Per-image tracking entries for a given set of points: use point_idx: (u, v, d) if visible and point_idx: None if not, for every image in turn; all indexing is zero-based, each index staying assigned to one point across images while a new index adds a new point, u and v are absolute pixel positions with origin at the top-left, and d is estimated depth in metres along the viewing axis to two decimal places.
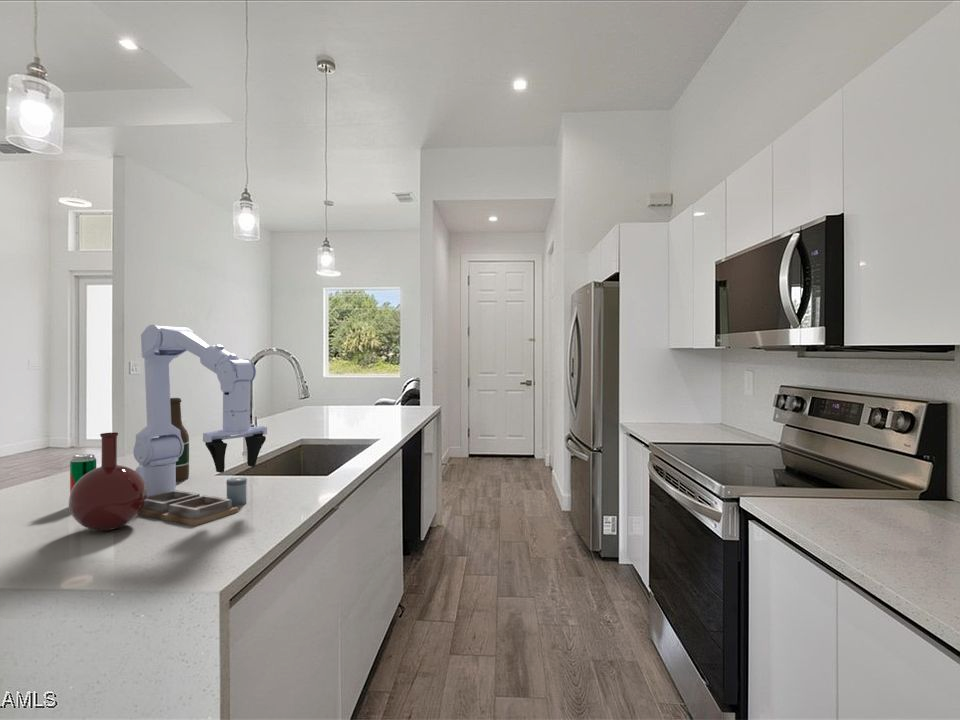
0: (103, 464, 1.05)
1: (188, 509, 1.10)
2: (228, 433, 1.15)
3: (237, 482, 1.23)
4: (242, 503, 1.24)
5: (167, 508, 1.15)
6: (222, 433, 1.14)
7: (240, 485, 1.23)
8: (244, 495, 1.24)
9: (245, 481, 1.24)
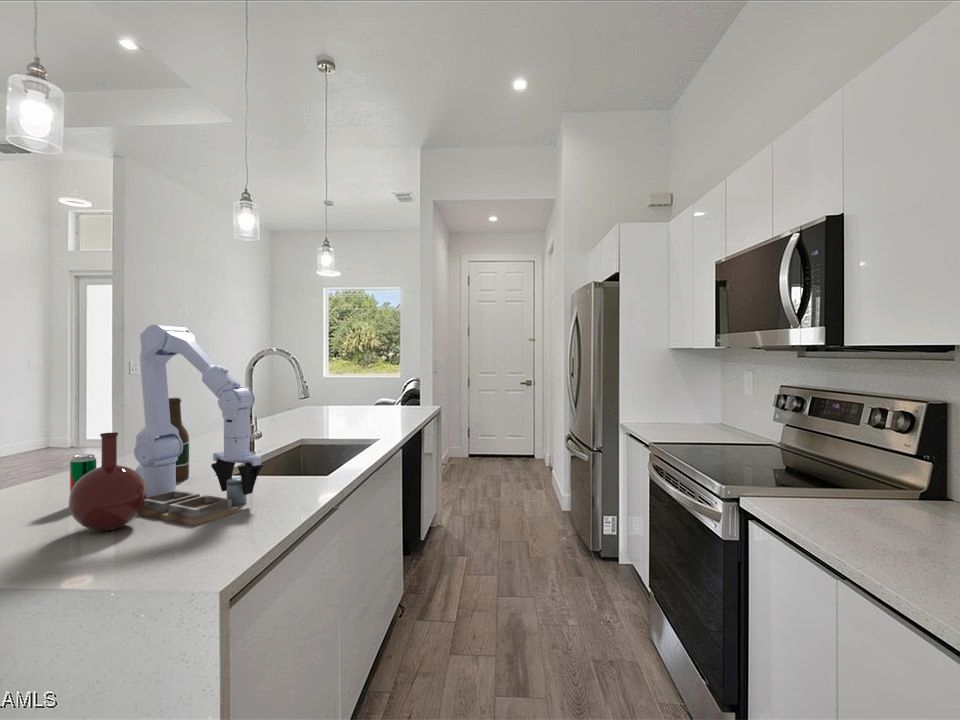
0: (103, 464, 1.05)
1: (188, 509, 1.10)
2: (220, 456, 1.24)
3: (237, 482, 1.23)
4: (242, 503, 1.24)
5: (167, 508, 1.15)
6: (218, 455, 1.25)
7: (240, 485, 1.23)
8: (244, 495, 1.24)
9: None
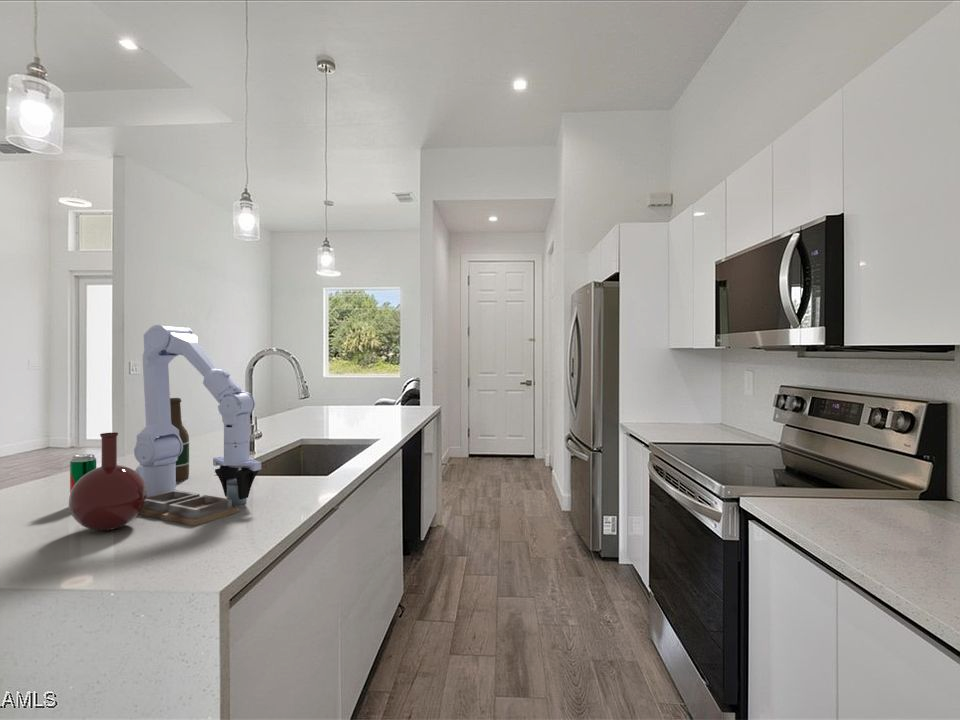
0: (103, 464, 1.05)
1: (188, 509, 1.10)
2: (220, 461, 1.24)
3: None
4: (242, 503, 1.24)
5: (167, 508, 1.15)
6: (218, 460, 1.25)
7: None
8: None
9: None
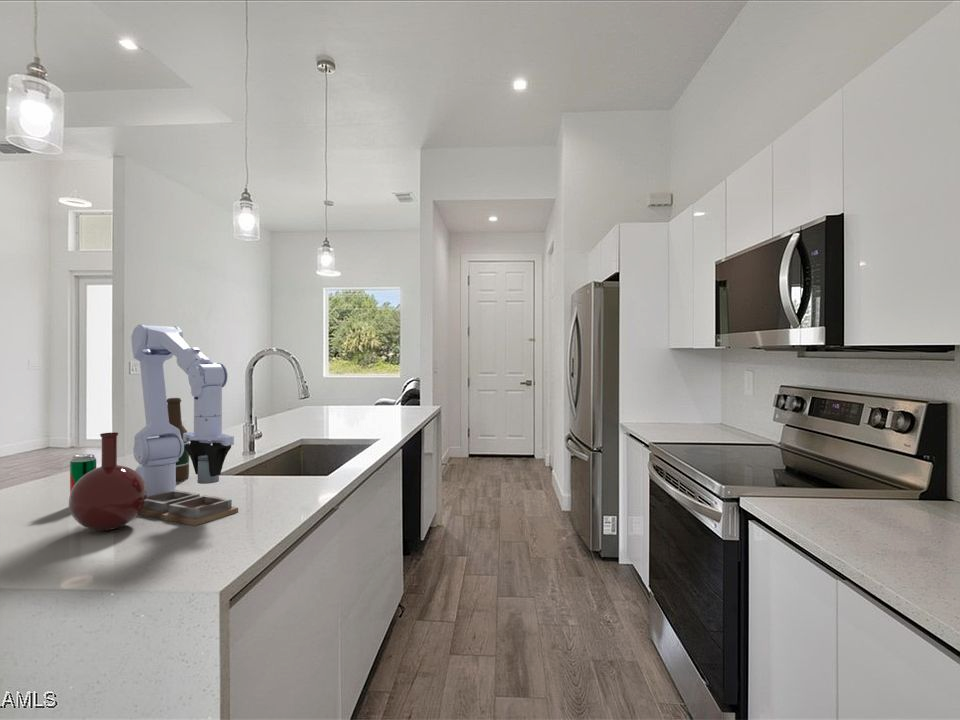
0: (103, 464, 1.05)
1: (188, 509, 1.10)
2: (190, 436, 1.16)
3: None
4: (214, 481, 1.16)
5: (167, 508, 1.15)
6: (188, 435, 1.17)
7: None
8: None
9: None
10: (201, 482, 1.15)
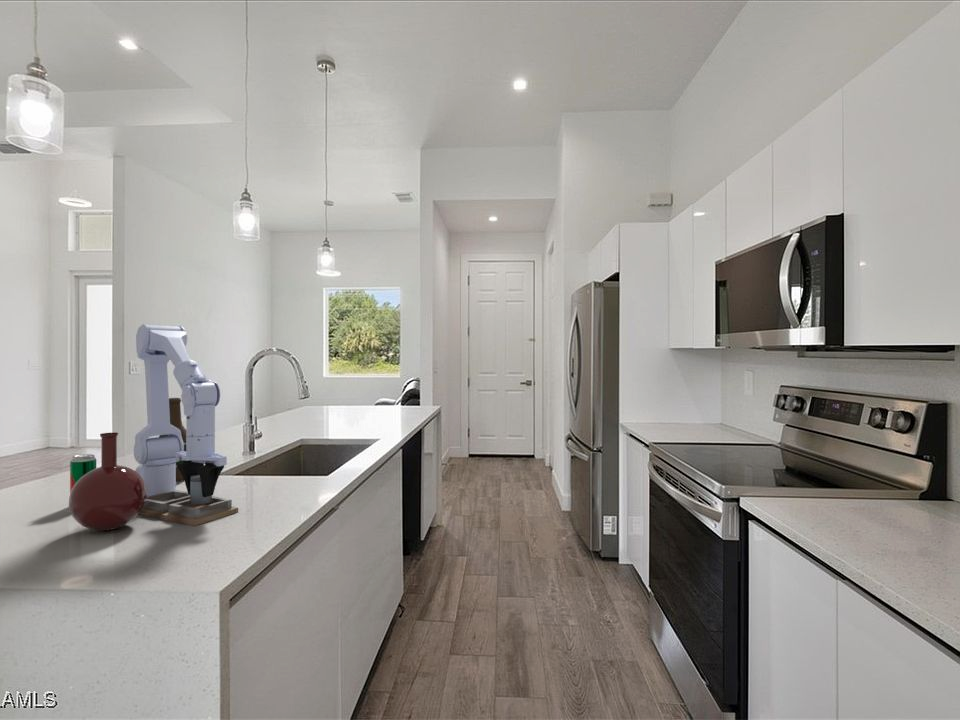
0: (103, 464, 1.05)
1: (188, 509, 1.10)
2: (182, 456, 1.15)
3: None
4: (207, 501, 1.14)
5: (167, 508, 1.15)
6: (181, 455, 1.16)
7: None
8: None
9: None
10: (193, 503, 1.13)
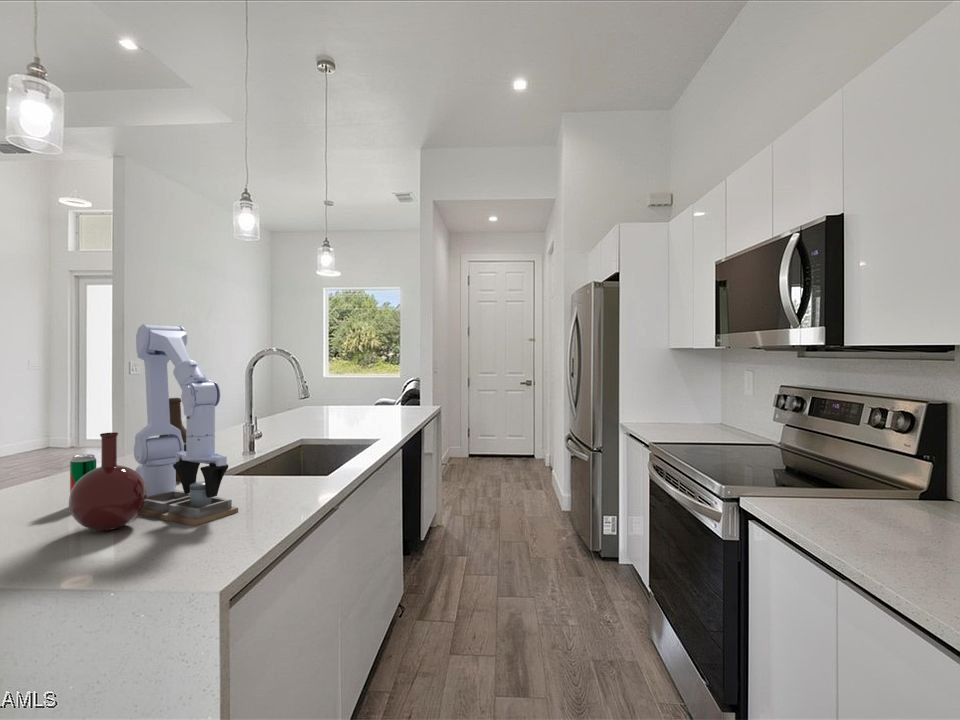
0: (103, 464, 1.05)
1: (188, 509, 1.10)
2: (182, 456, 1.15)
3: (201, 486, 1.13)
4: None
5: (167, 508, 1.15)
6: (181, 455, 1.16)
7: (205, 490, 1.14)
8: (209, 500, 1.15)
9: None
10: None
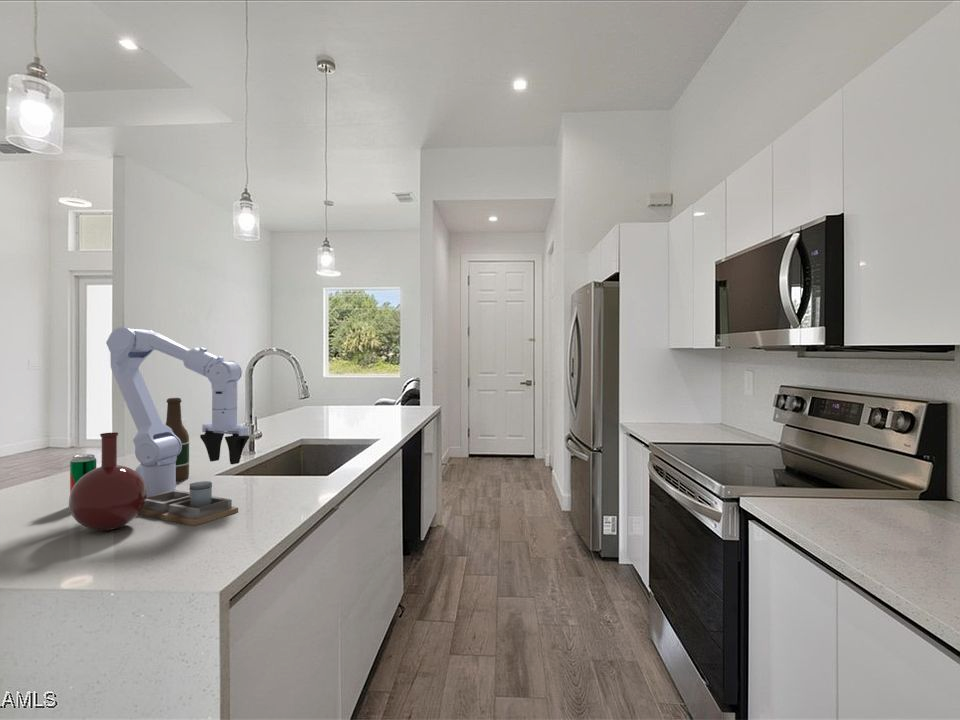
0: (103, 464, 1.05)
1: (188, 509, 1.10)
2: (208, 427, 1.28)
3: (201, 486, 1.13)
4: None
5: (167, 508, 1.15)
6: (207, 426, 1.29)
7: (205, 490, 1.14)
8: (209, 500, 1.15)
9: (210, 485, 1.15)
10: None
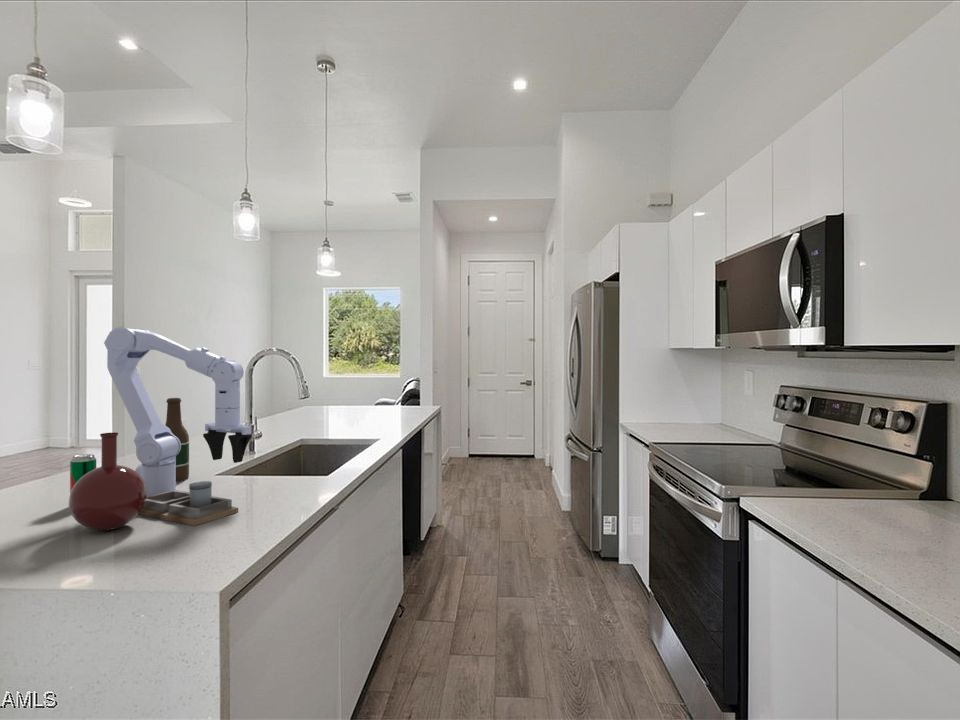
0: (103, 464, 1.05)
1: (188, 509, 1.10)
2: (211, 426, 1.30)
3: (200, 486, 1.13)
4: None
5: (167, 508, 1.15)
6: (210, 425, 1.30)
7: (204, 490, 1.14)
8: (208, 500, 1.15)
9: (209, 485, 1.15)
10: None
